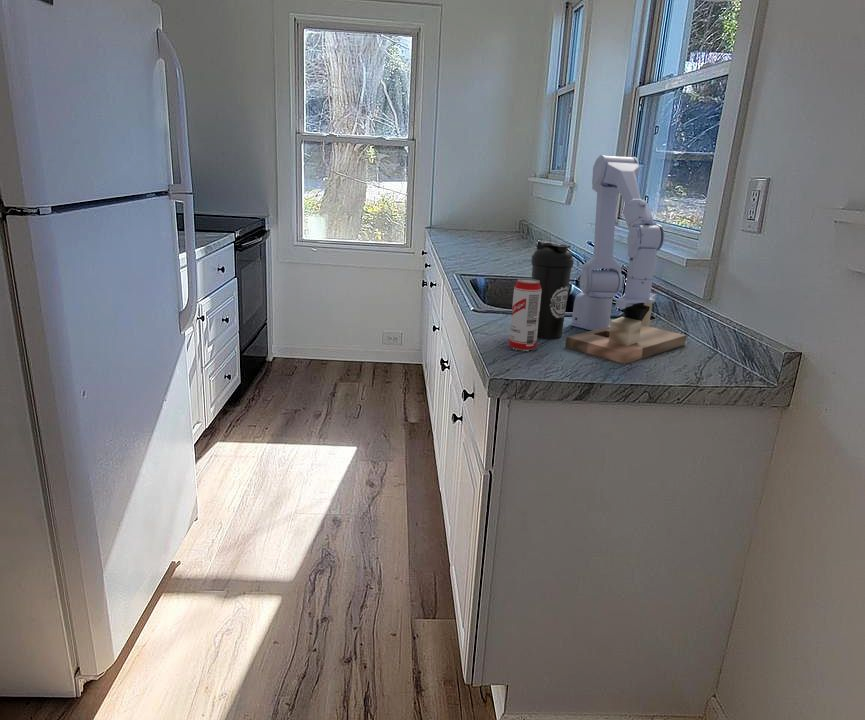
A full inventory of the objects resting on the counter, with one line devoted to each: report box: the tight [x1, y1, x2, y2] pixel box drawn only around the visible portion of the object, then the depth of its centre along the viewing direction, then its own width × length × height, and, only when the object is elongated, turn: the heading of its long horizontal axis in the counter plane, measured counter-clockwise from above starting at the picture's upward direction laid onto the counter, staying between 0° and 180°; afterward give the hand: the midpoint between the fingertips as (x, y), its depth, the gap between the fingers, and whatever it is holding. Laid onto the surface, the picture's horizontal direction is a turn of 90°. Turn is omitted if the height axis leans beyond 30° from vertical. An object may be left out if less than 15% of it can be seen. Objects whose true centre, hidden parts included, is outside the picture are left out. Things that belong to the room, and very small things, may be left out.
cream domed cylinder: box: [641, 302, 653, 327], centre depth 177 cm, size 6×6×10 cm
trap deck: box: [565, 325, 687, 365], centre depth 158 cm, size 16×28×2 cm, turn 133°
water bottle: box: [530, 241, 575, 340], centre depth 162 cm, size 10×10×23 cm
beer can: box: [508, 278, 542, 351], centre depth 149 cm, size 6×6×16 cm
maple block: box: [609, 316, 641, 346], centre depth 151 cm, size 5×5×5 cm
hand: (631, 334), depth 154 cm, fingers closed
